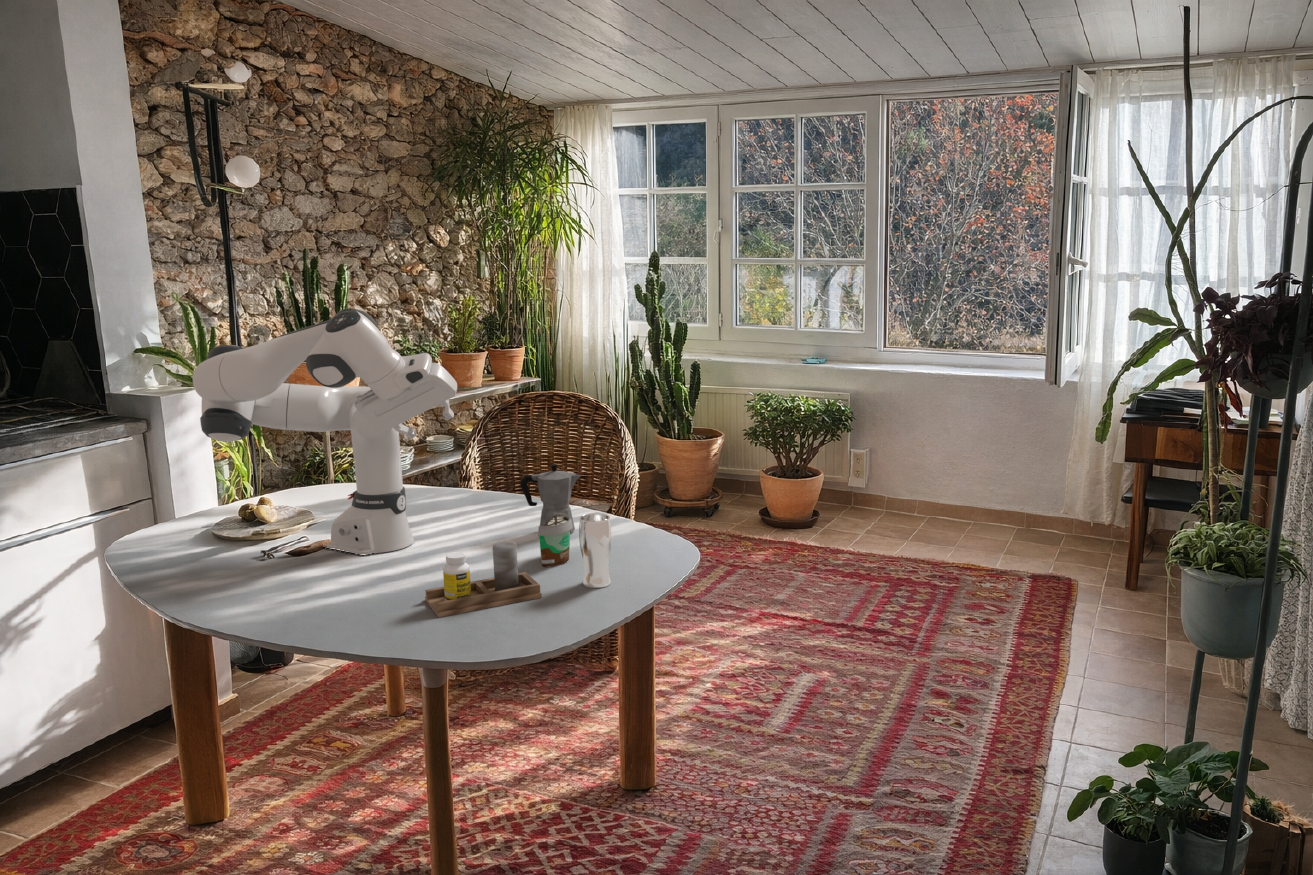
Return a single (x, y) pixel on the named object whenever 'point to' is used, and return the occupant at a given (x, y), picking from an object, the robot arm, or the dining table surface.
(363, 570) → the dining table surface
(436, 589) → the wooden compartment tray
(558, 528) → the food container
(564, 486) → the coffeepot
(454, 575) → the supplement bottle
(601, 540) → the beer glass
